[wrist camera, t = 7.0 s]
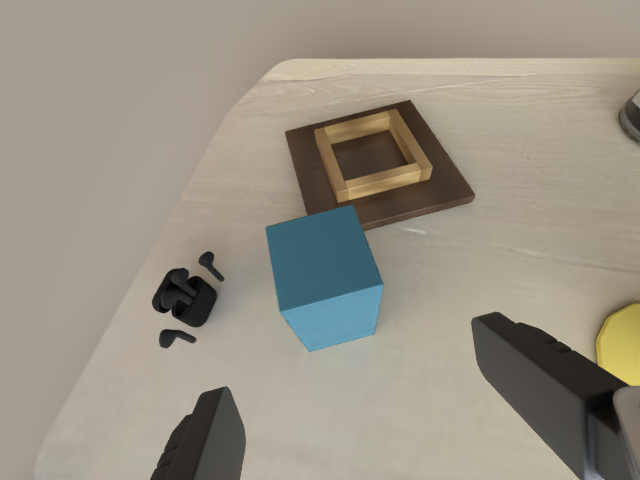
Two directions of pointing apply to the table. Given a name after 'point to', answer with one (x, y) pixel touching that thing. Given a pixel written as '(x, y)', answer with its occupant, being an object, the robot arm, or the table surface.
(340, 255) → the post block
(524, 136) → the table surface
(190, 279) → the wireless earbuds
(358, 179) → the square wooden socket base
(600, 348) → the candle
